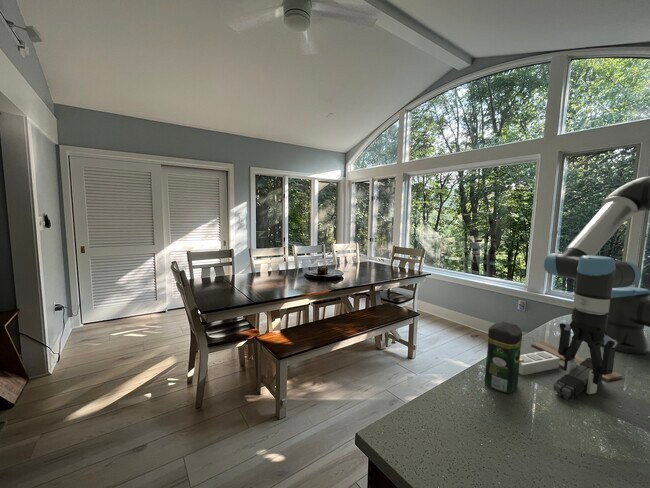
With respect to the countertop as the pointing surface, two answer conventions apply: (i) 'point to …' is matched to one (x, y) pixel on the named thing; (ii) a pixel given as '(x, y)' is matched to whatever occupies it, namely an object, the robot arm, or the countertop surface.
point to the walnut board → (554, 351)
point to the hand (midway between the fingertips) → (580, 386)
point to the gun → (574, 380)
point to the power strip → (538, 362)
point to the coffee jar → (503, 357)
